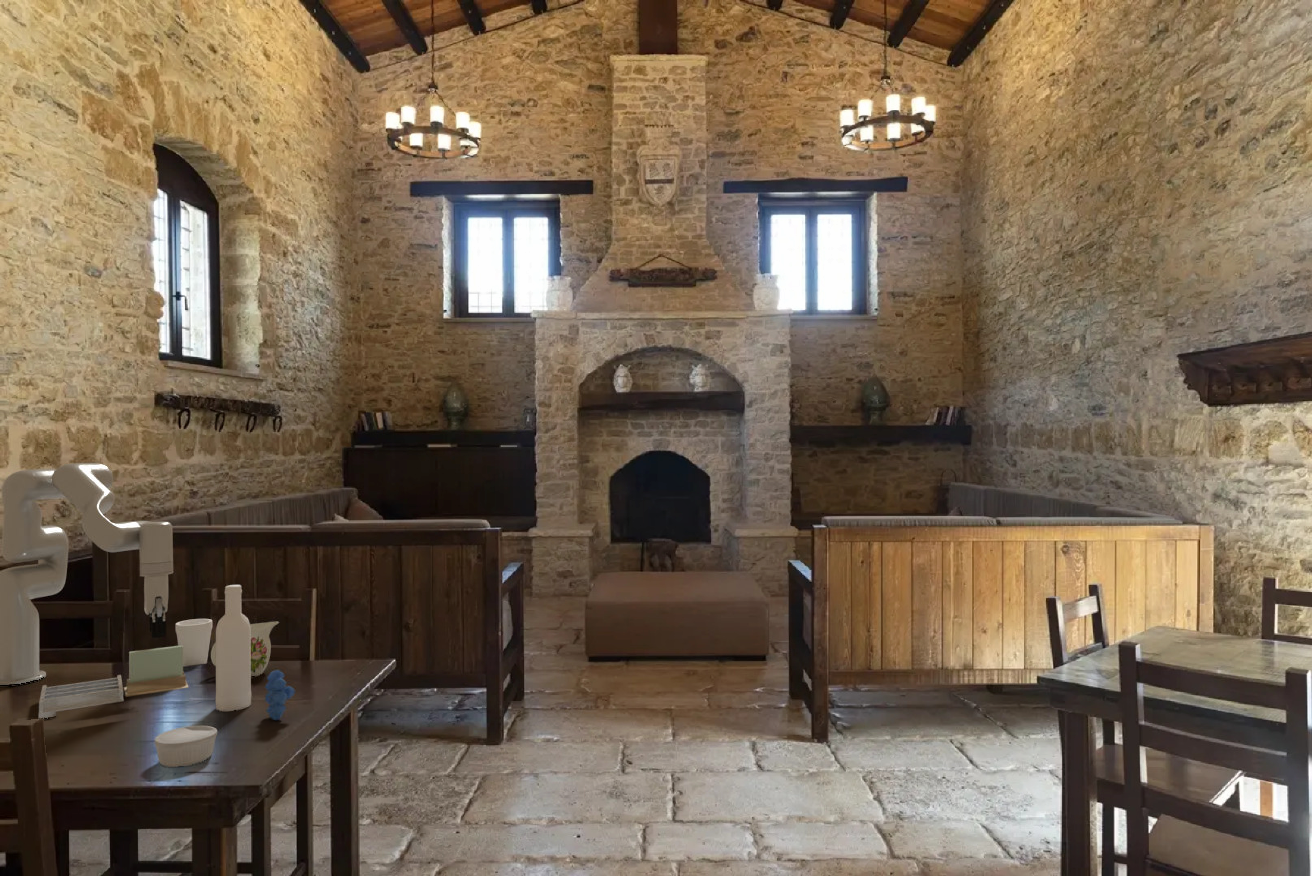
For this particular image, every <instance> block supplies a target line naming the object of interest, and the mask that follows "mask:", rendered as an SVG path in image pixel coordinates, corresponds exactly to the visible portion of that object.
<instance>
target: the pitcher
mask: <svg viewBox="0 0 1312 876" xmlns="http://www.w3.org/2000/svg"><path fill="white" fill-rule="evenodd" d="M279 623H280V622H279V621H268V622H260V623H259V622H257V623H250V626H251V676H255V677H258V676H261V675H262V674H263V673H264V671H265V670H266V669H267V667H268V664H269V662H270V658H271V657H270V656H271V652H272V650H271V648H272V647H271V645H272V644H271V643H272V642H271V639H270V633H271V632H272V630H273V628H274V627H275V626H276V625H278V624H279ZM210 659H211V662H212V664H213V665H214V666H215V667H216V642H215V643H213V645H212V646H211V650H210ZM260 674H261V675H260Z"/></svg>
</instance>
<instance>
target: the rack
mask: <svg viewBox="0 0 1312 876" xmlns="http://www.w3.org/2000/svg"><path fill="white" fill-rule="evenodd" d="M123 686H124V685H123V681H122V675H121V674H118V675H117V677H111V678H105V679H99V680H98V679H97V680H89V681H82V682H77V683H68V684H60V685H55V686H53V685H52V686H47V684H44V685H42V687H41V692H40V697H39V701H38V719H39V718H43V720H45V719H44V717H45V718H47V719H48V717H53V716H56V717H57V712H62V711H67V710H69V711H70V710H75V709H81V708H87V707H93V706H100V705H101V706H102V705H108V704H114V703H121V702H124V701H125V700H124V687H123ZM47 719H46V720H47ZM48 720H49V719H48Z"/></svg>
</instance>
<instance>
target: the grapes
mask: <svg viewBox="0 0 1312 876" xmlns="http://www.w3.org/2000/svg"><path fill="white" fill-rule="evenodd" d="M284 677H285V674H284V672H282V671H281V670H280V669H277V670H272V671H270V673H269V674H268V675H267V677H266V679H267V680H268V682H267V683H266V684H265V686H264V688H265V689H266V690H267V691H268V692H267V693H266V694H265V696H264V697H265V698H264V701H265V702H266V703H267V704H269V706H268V708H267V709H266V710H265V711H266V712H267V713H268V717H270V718H271V719H272V720H274V721H279V720H280V718H282V717H283V714H284V713H285V711H286V710H287V706H286V705H285V704H286V701H287V700H289V699H292V697H293V696H294V694H295V693H296V690H295V689H294V688H293V687H292V686H290V685H287V684H288V683H287V681H285V679H284Z"/></svg>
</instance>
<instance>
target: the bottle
mask: <svg viewBox="0 0 1312 876" xmlns="http://www.w3.org/2000/svg"><path fill="white" fill-rule="evenodd" d="M242 589H243V588H242V585H241V584H230V585H226V586H225V587H224V608H225V610H224V611H225V613H224V615H223V616H222V617H221V618H220V619H219V620H218V622H217V624H216V628H215V643H216V666H215V710H216V711H218V710H219V712H234V710H236V711H240V710H243V709H247V708H248V707H250V706H251V705H252V687H251V686H252V684H251V683H252V682H251V681H252V680H251V679H252V677H251V626H250V624H251V623H250V620H249V618H248V617H247V616H246V615H245V614H243V613H242V593H243V590H242Z"/></svg>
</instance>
